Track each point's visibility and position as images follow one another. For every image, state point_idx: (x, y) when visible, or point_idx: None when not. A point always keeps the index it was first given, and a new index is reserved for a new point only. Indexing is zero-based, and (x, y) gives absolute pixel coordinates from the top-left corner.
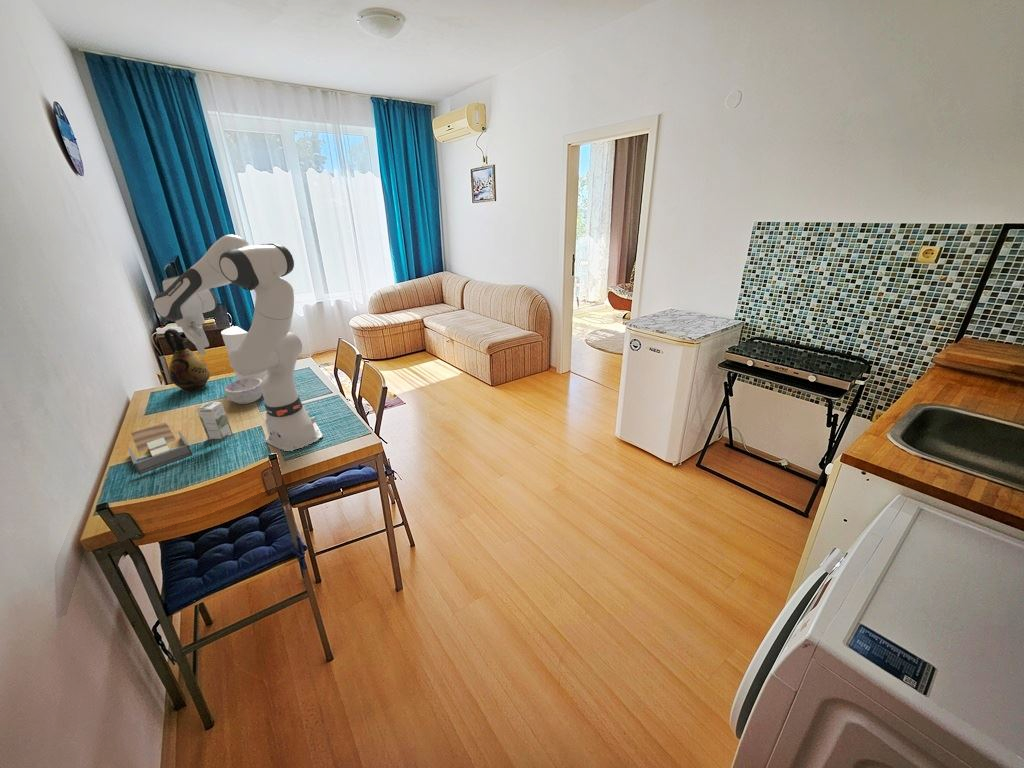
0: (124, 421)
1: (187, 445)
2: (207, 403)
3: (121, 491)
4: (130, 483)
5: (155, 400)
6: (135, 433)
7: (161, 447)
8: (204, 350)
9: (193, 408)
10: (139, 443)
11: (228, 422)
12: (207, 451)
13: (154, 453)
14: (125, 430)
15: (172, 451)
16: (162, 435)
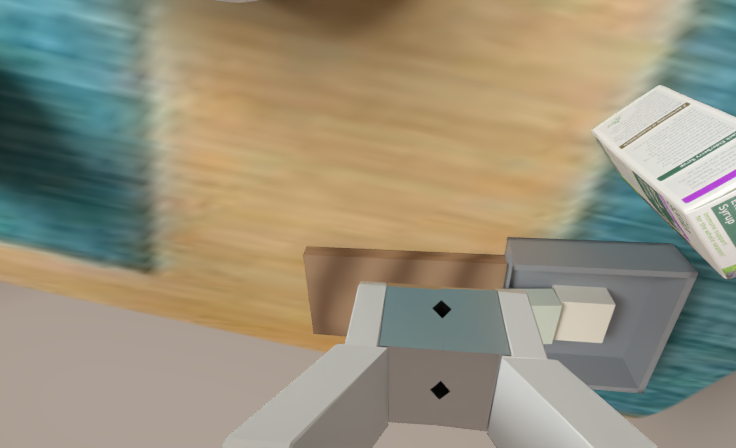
0: (170, 318)
1: (696, 275)
2: (719, 221)
3: (676, 395)
4: (654, 377)
5: (16, 227)
6: (328, 327)
7: (562, 315)
8: (543, 347)
9: (193, 144)
10: None
11: (700, 102)
12: None
13: (590, 336)
14: (250, 328)
15: (676, 313)
16: (422, 283)
